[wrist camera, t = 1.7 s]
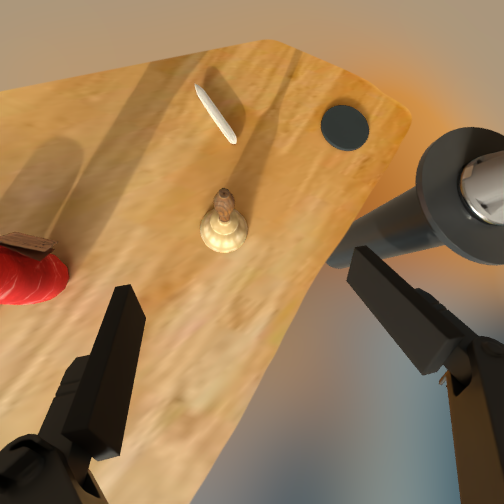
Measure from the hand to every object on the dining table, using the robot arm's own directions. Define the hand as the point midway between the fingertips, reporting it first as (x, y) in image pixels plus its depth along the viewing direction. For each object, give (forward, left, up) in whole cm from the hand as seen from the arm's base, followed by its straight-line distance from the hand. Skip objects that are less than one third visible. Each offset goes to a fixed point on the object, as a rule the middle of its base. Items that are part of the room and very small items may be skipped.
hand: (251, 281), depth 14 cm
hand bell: (+3, -10, -27) cm, 29 cm away
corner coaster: (-19, -34, -27) cm, 48 cm away
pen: (+7, -32, -27) cm, 42 cm away
